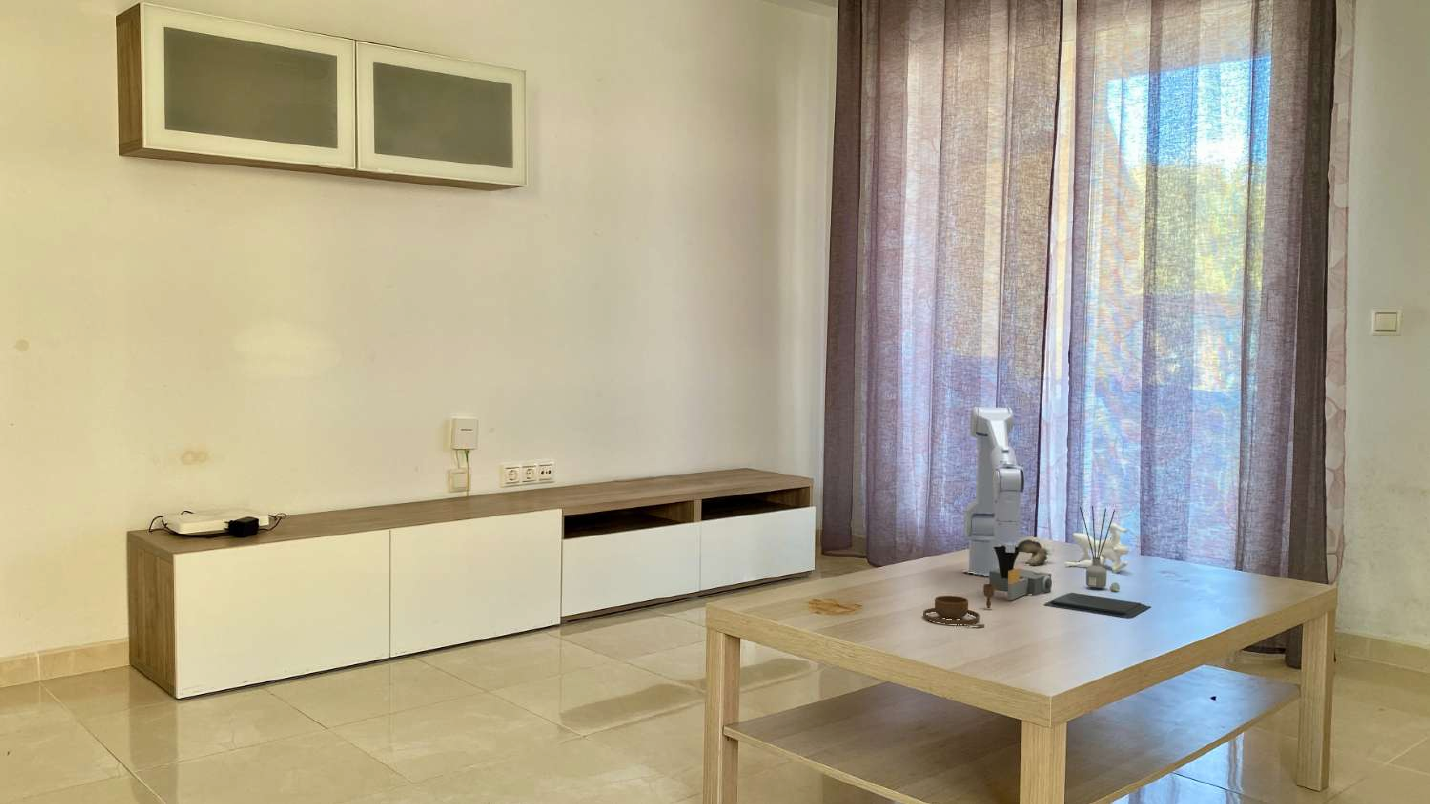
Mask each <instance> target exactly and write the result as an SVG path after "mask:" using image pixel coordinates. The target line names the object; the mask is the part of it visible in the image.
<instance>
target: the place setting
mask: <svg viewBox="0 0 1430 804" xmlns="http://www.w3.org/2000/svg"><path fill="white" fill-rule="evenodd" d="M982 588H983V589H982V590H983V591H982V592H983V596H984V597H985V598H986V603H985V605H986V608H991V606H992V603H991V598H993V597H994V596H995V591H996V589H995V585H993V584H989V583H983V586H982ZM931 612H936V613H937V614H936V615H938V616H939V617H941V618H938V617H933V616H931V615H929V616H928V615H926V613H931ZM967 613H968V614H970V615H973V616H975V617H976V618H971V619H962V618H964V617H966V614H967ZM922 615H923V618H924V617H925V618H926V619H928V620H931V621H935V622H940V623H945V624H957V625H958V624H959V625H960V624H962V626H965V625H964V624H971V625H967V627H970V626H978V627H972V628H971V629H982V628H984V627H985V624H983V623H982V624H981V623H978V622H980V619H981V616H980V615H981V614H980V613H978V612H977V611H974V610H971V609H969V599H967V598H965V597H962V596H957V595H941V596H936V597H935V598H934V607H931V608H927V609H924V610H923V611H922ZM925 618H924V619H925ZM942 618H945V619H942ZM926 619H925V620H926ZM946 619H952V620H946ZM957 619H961V620H957ZM976 622H977V623H978V624H977V623H976ZM973 623H975V624H973Z"/></svg>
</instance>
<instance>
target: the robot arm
mask: <svg viewBox="0 0 1430 804" xmlns="http://www.w3.org/2000/svg"><path fill="white" fill-rule="evenodd" d="M1014 418H1015V417H1014V411H1013V409H1012V408H1011V407H1009V406H1008V407H979V406H973V408H971V412H970V418H969V419H970V420H969V421H970V422H969V433H970V436H971V437H972V438H976V442H977V465H976V466H977V468H976V469H977V471H976V472H977V473H976V474H977V475H976V495H975V496H976V499H975V500H974V501H972V502H971V503H969V504H968V505H967V506H966V507H965V509H964V516H963V522H962V523H963V533H964V535H965V537H966V538H969V540H968V542H969V543H968V546H969V548H968V569H969V570H968V571H967V570H966V569H965V570H966V571H965V572H975V573H977V574H981V575H986V576H989V571H992V570H996V569H1000V574H1001V578H1008V571H1010V570H1012V569H1013V568H1014V567H1015V563H1016V560H1017V558H1018V556H1019V554H1020V553H1021V552H1020V550H1019V547H1018V545H1019V544H1020V542H1021V535H1020V534H1021V509H1022V508H1021V506H1022V505H1021V500H1022V494H1023V493H1024V490H1025V479H1026V478H1025V473H1024V470H1023V469H1024V468H1022V467H1021V465H1018V461H1017V457H1016V452H1015V450H1014V448H1013V447H1011V446H1009V439H1008V435H1009V434H1010V433H1011V432H1012V430H1013V427H1014V422H1015V421H1014ZM981 575H980V576H981ZM986 576H985V577H986Z"/></svg>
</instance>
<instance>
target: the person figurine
mask: <svg viewBox="0 0 1430 804" xmlns="http://www.w3.org/2000/svg"><path fill="white" fill-rule="evenodd" d="M1118 531H1120V532H1121V533H1122V534H1127V533H1128V529H1127V528H1124V527H1121V526H1119V525H1118V524H1117V523H1115V522H1114V523H1111V525H1110V528H1109V531H1108V533H1110V534H1111V536H1110V537H1106V540H1105V538H1104V539H1101V544H1100V550H1099V555H1100V552H1101V549H1102V546H1103V543H1104V540H1105V543H1104V547H1103V550H1102V553H1101V556H1100V558H1101V566H1103V565H1104V564H1105V563H1106V562H1107V559H1108V560H1110V561H1111V562H1112V564H1111V566H1110V567H1111V571H1112V573H1113V572H1115V573H1114V574H1119V573H1120V572H1121V571H1122V570H1123V569H1124V568H1125V567H1127V566H1129V561H1128V560H1125V561H1123V562H1122V560H1121V557H1122V556H1127V555H1128V554H1129V553H1130V547H1128V545H1124V544H1123V542H1122V541H1121V536H1120V535H1121V534H1120V533H1118ZM1088 536H1089V539H1090V543H1091V547H1092V551H1093V553H1095V549H1094V537H1092V536H1091V535H1088ZM1088 536H1087V534H1084V533H1077V532H1076V533H1075V532H1074V533H1073V534H1072V538H1073V540H1074V541H1076V543H1077V544H1078V547H1079V548H1080V549H1081V551H1082V553H1083V555H1082V556H1081V557H1080V558H1078V559H1077V560H1078V561H1075V562H1074V561H1073V562H1072V561H1070V562H1069V561H1064V562H1063V565H1064V567H1065V568H1070V567H1069V566H1072V567H1073V566H1075V567H1084V568H1088V567H1090V566H1091V565H1092V561H1093V560H1091V559H1092V558H1091V556H1090V554H1089V550H1091V548H1090V544H1089V540H1088ZM1099 543H1100V540H1097V539H1095V546H1096V557H1097V555H1098V549H1099ZM1088 549H1089V550H1088ZM1093 555H1094V557H1095V554H1093ZM1079 561H1080V562H1079Z"/></svg>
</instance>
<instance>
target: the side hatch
mask: <svg viewBox="0 0 1430 804" xmlns="http://www.w3.org/2000/svg"><path fill="white" fill-rule="evenodd" d="M1020 569H1021V567H1015V569H1012V570H1010V571H1008V591H1007V600H1008V601H1013V600H1015V599H1017V598H1021V597H1022V596H1025V595H1028V578H1022V579H1020Z"/></svg>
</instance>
